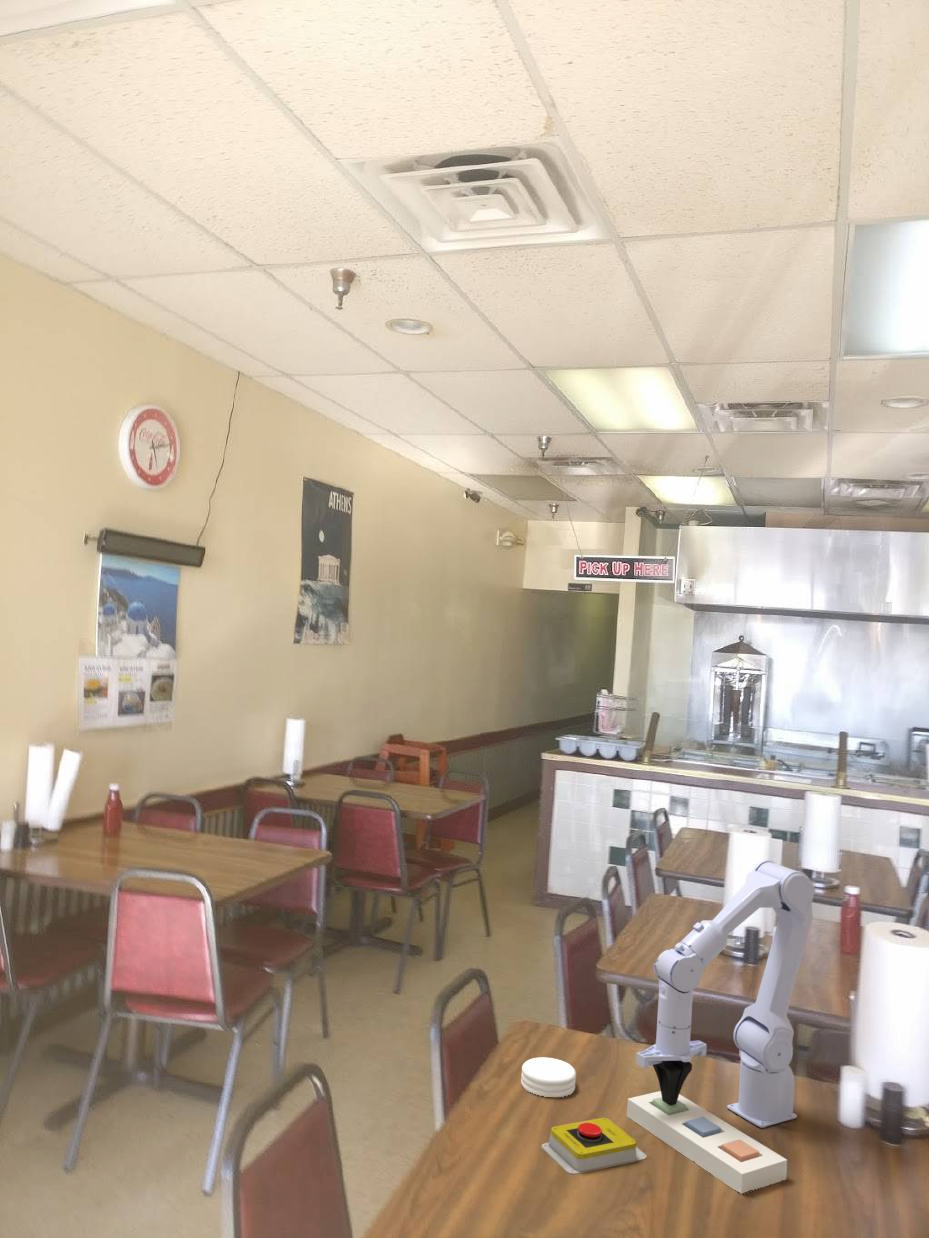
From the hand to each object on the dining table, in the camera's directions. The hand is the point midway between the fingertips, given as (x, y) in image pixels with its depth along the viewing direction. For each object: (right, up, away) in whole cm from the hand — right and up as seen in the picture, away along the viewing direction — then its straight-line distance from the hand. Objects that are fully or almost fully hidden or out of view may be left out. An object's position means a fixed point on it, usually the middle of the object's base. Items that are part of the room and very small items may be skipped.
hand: (669, 1102), depth 163 cm
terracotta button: (+8, -3, -14) cm, 16 cm away
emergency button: (-15, -3, -11) cm, 19 cm away
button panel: (+4, -4, -7) cm, 9 cm away
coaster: (-20, -3, +11) cm, 23 cm away
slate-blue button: (+4, -3, -7) cm, 9 cm away
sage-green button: (0, -3, 0) cm, 3 cm away
